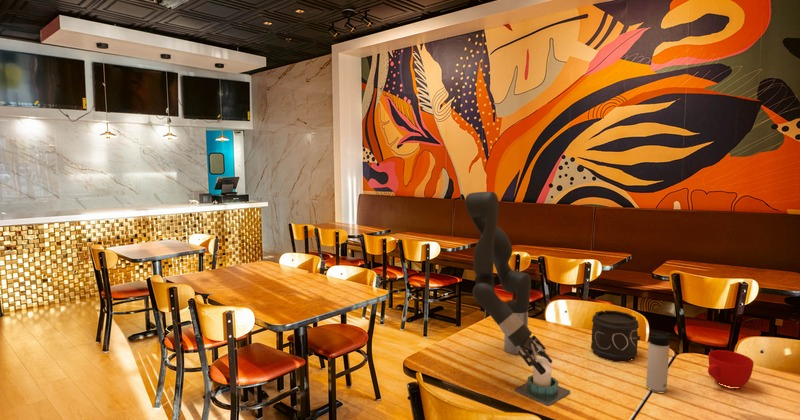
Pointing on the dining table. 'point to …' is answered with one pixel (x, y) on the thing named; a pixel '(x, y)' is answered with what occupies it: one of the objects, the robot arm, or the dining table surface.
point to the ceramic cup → (730, 368)
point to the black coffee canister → (615, 335)
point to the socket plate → (543, 399)
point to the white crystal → (544, 378)
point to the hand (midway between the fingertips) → (547, 368)
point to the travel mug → (658, 361)
